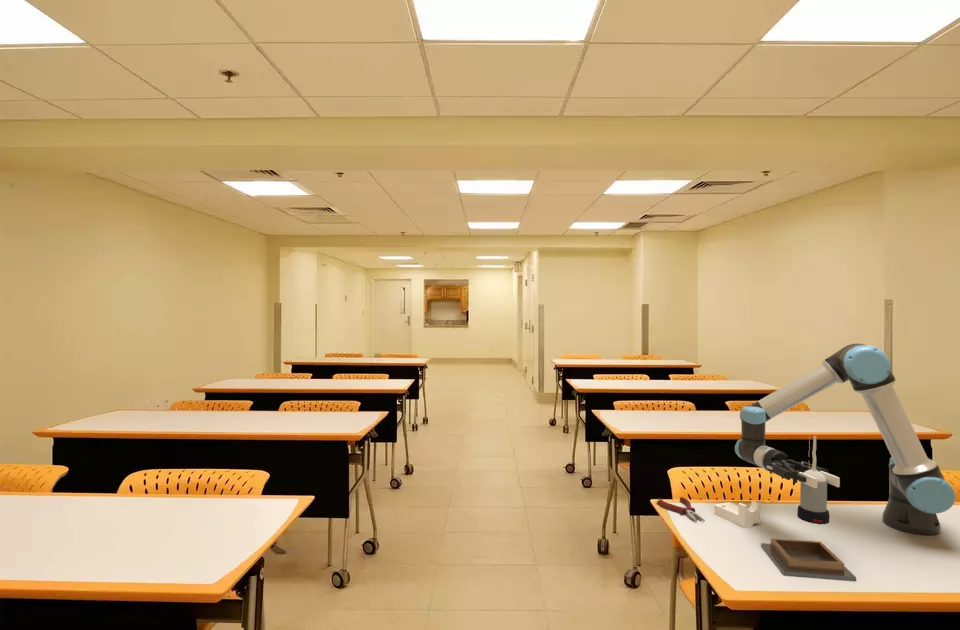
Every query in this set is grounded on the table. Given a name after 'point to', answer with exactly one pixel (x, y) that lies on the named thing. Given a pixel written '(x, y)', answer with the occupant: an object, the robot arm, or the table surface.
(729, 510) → the bracket
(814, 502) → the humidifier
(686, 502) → the pliers
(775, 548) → the fitting nest
